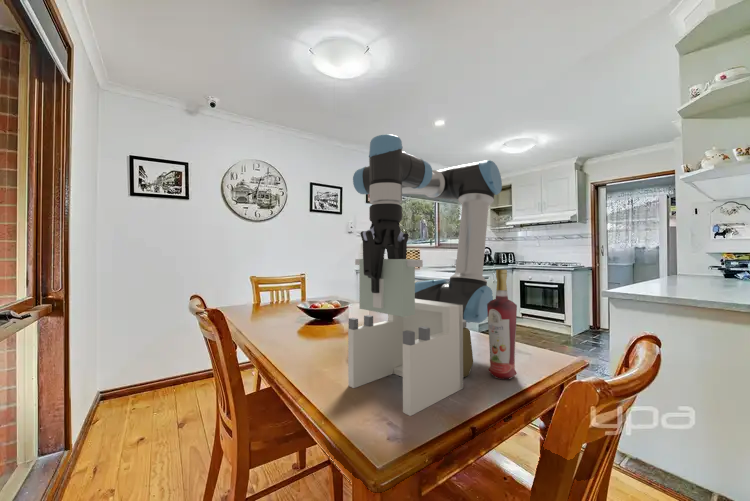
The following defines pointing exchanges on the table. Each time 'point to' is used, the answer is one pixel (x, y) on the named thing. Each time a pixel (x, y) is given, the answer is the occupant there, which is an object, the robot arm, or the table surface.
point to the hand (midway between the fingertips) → (385, 306)
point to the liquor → (502, 330)
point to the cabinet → (411, 352)
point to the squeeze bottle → (467, 351)
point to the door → (391, 287)
